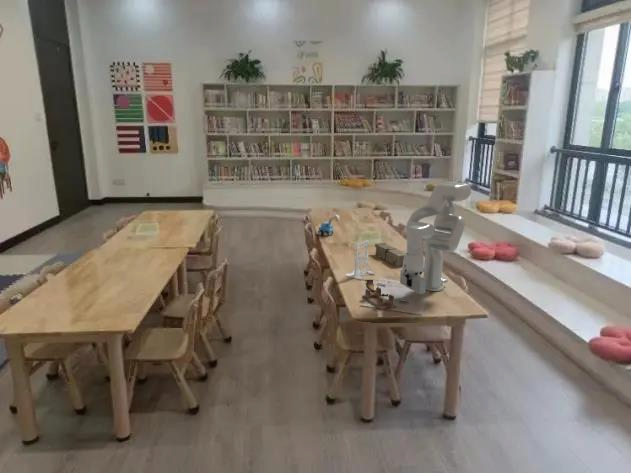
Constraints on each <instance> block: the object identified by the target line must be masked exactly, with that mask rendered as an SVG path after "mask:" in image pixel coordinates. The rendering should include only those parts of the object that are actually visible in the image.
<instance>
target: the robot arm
mask: <svg viewBox="0 0 631 473" xmlns="http://www.w3.org/2000/svg"><path fill="white" fill-rule="evenodd" d="M471 193H472V188H471V185H470V184H469V183H465V182H456V181H442V182H440V183H438V184H436V185H435V186H434V188H433V190H432V192H431V194H430V196H429V198H428V200H427V201H426V203H425V205H423V206H421V207H418V208H417V209H416V210H414V211H413V213H411V215H410V217H409V218H408V220H407V222H406V225H405V233H406V234H407V238H406V239H407V241H406V252H405V255H404V260H403V266H402V267H401V268H402V269H401V270H403V271H402V273H401V272H400V274H402V275H404V276H405V277H406V278H407V285H408V286H409V287H411V285H412V279H411V276H412V273H414V274H416V275H418V276H420V277H421V276H422V274H423V276H422V278H424V279H426V288H425V291H429V292H440V291H443V290H444V285H443V284H447V283H449V280H448V278H445V279H443V278H442V276H443V266H444V265H443V264H444V256H443V252H442V251H444V252H449V253H453V252H455V251H456V250H457V248H458V246H459V244H460V241H461V238H462V236H463V233H464V230H465V224H466V223H465V219H464V218H463V217H462V216H460V215H455V214H456V213H455V212H456V210H457V207H456V205H455V204H456V203H454V202H462V201H465V200H467V199H468V198H470V196H471V195H472V194H471ZM433 216H435V218H434V220H433V224H430V223H427V222H421V220H422V219H425V218H429V217H433ZM423 245H424V246H423ZM423 250H424V252H423ZM424 253H425V254H424ZM406 271H407V273H406Z"/></svg>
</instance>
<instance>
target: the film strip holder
mask: <svg viewBox="0 0 631 473" xmlns="http://www.w3.org/2000/svg"><path fill="white" fill-rule="evenodd" d="M362 248H366V250H365V252H364V253H361V254H359V251H360V249H362ZM368 253H369V240H368V239H367V240H365V241H363V242H360V243H358V244H355V248H354V257H355V258H354V262H353V263H354V264H353V266H354V269H353V270H352V271H351V272H348V273H345V274H344V275H345V276H344V277H348V278H353V279H355V280H359V281H361V280H362V281H365V280H366V278H365V276H364V275H365V274H369V275H372V276H376V273H374V271H373V267H372V265H371V262H370V259H369V255H368ZM362 264H365V266H364V269H362V268H361V267H360V266H361V265H362ZM368 265H369V267H370V270H371V271H370V270H368ZM358 268H359V269H358Z"/></svg>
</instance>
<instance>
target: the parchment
mask: <svg viewBox="0 0 631 473" xmlns="http://www.w3.org/2000/svg"><path fill="white" fill-rule="evenodd" d="M373 280H374V279H365V280H364V281H365V286H367V288H368V289H369V290H370V291H372V292H376V290H374V284H373Z"/></svg>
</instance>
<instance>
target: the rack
mask: <svg viewBox="0 0 631 473" xmlns="http://www.w3.org/2000/svg"><path fill="white" fill-rule="evenodd" d="M371 291H372V290H371V289H369V288H366V289H365V293H364V294H363V295H362V296H361V297H362V298H363V299H364V300H366V301H367V302H369V303H371V304H372V305H373V306H375V307H376V308H378V309H379V310H381V311H385V310H389V309H395V308H397V304H395V303H394V302H395V296H394V295H392V293H391V294H390V295H389V296H388V299H387V298H385V297H384V296H383V295H381V288H379V287H377V288H376V292H374V291H372V292H371Z"/></svg>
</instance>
